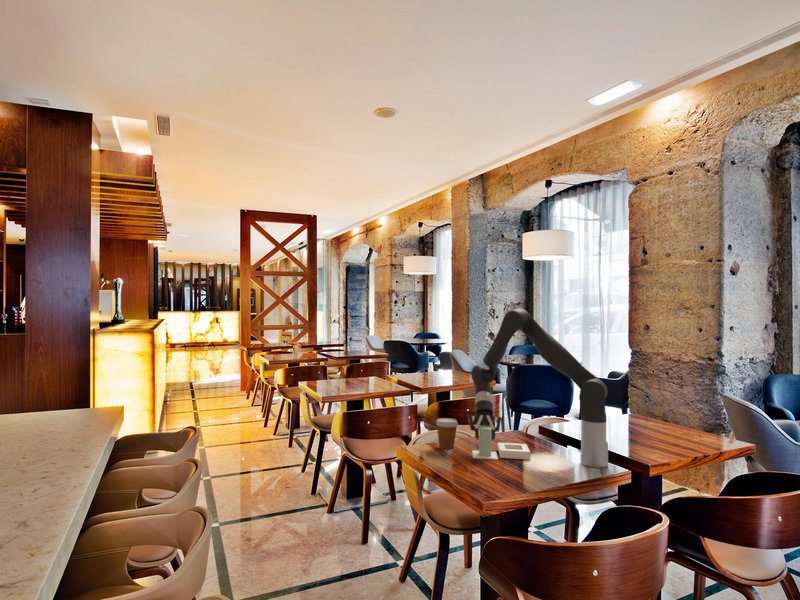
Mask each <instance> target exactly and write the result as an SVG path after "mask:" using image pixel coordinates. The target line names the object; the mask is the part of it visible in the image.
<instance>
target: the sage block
mask: <svg viewBox="0 0 800 600" xmlns="http://www.w3.org/2000/svg"><path fill="white" fill-rule="evenodd" d="M478 442H479V443H478V444H479V445H478V448H479V449H478V451H479V454H480V456H491V451H492V428H491V427H490V426H480V428H479V440H478Z"/></svg>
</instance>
